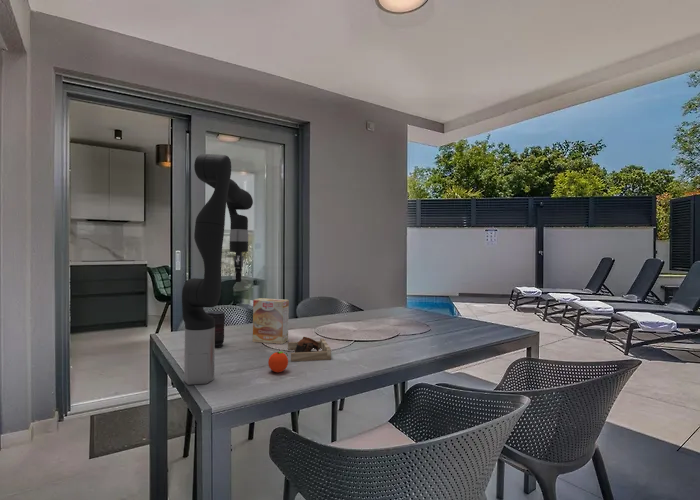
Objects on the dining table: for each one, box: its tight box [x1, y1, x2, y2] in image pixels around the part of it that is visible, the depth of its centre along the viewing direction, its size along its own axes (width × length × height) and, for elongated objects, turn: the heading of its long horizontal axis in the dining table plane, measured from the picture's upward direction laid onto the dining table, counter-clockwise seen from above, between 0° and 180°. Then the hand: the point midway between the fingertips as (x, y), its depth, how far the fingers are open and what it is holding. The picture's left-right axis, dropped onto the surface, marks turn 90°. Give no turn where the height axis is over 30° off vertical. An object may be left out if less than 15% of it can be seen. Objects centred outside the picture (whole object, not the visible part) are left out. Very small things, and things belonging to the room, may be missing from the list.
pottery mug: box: [294, 336, 320, 353], centre depth 158 cm, size 12×10×8 cm
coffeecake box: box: [252, 297, 290, 345], centre depth 179 cm, size 15×7×20 cm, turn 76°
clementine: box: [268, 351, 289, 373], centre depth 137 cm, size 8×7×7 cm
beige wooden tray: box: [287, 338, 332, 362], centre depth 159 cm, size 18×16×4 cm
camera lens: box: [205, 310, 226, 349], centre depth 169 cm, size 8×8×15 cm
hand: (238, 281), depth 162 cm, fingers closed
